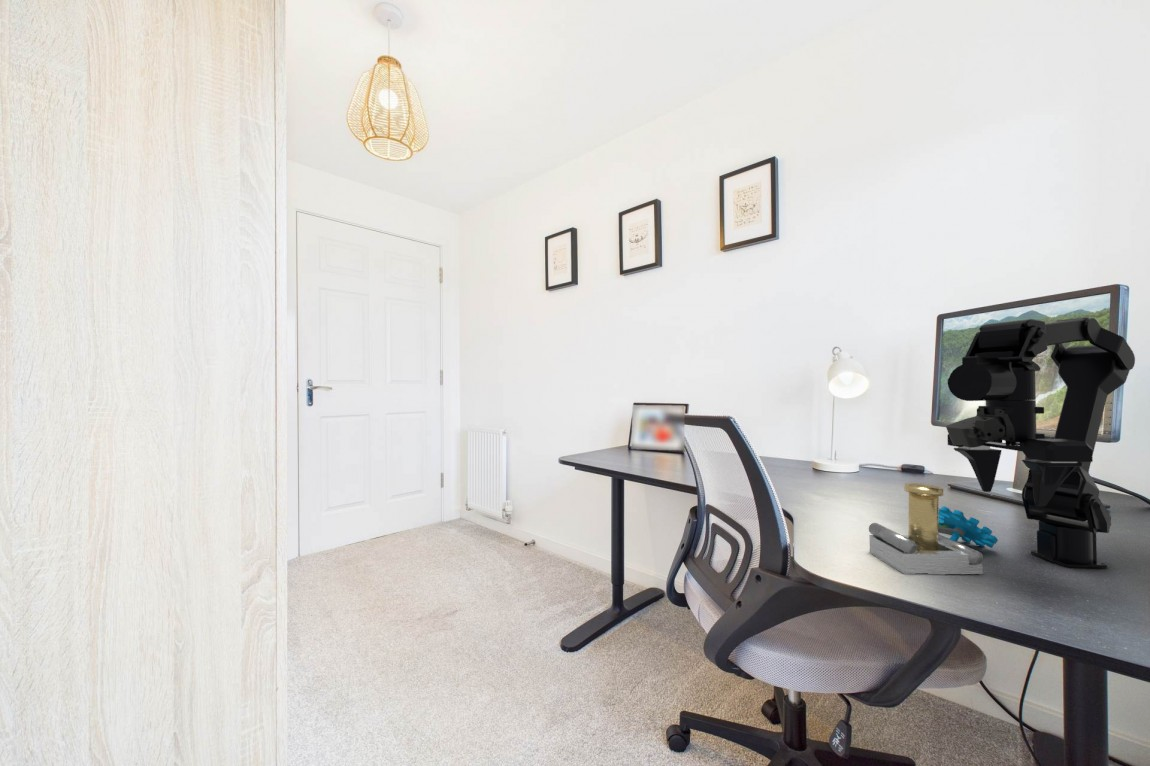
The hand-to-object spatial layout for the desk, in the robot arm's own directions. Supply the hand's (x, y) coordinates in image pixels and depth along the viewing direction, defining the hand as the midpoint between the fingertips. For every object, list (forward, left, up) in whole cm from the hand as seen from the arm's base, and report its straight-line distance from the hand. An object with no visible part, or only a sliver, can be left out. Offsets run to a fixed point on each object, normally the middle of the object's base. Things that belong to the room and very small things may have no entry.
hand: (1011, 498), depth 71 cm
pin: (+11, -4, -12) cm, 17 cm away
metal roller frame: (+11, -4, -12) cm, 17 cm away
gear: (-2, -13, -12) cm, 18 cm away
